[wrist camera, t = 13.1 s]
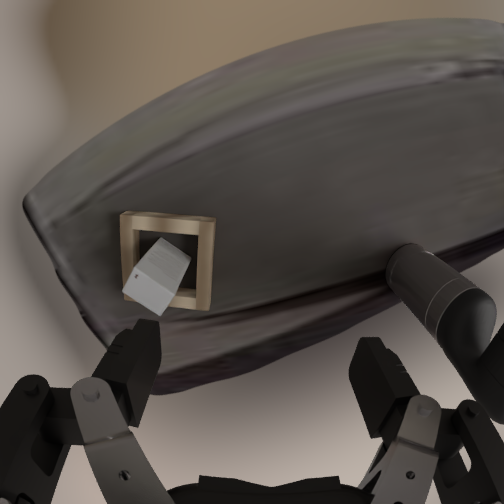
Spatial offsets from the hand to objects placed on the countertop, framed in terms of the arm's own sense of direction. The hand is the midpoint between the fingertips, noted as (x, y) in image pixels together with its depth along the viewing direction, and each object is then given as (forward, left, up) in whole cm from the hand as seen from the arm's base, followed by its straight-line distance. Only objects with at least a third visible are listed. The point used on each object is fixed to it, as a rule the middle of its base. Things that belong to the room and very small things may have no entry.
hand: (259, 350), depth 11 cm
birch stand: (+12, +10, -33) cm, 37 cm away
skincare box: (+12, +10, -33) cm, 37 cm away
